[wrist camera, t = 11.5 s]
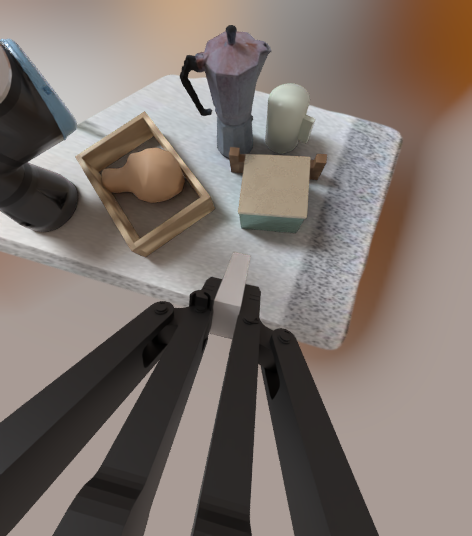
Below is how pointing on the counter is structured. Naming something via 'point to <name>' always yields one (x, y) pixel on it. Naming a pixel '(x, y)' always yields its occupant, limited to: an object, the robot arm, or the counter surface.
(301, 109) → the sage mug
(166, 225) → the pine crate
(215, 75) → the moka pot
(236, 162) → the walnut stop rail
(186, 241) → the counter surface
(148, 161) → the squash
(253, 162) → the green tea tin
